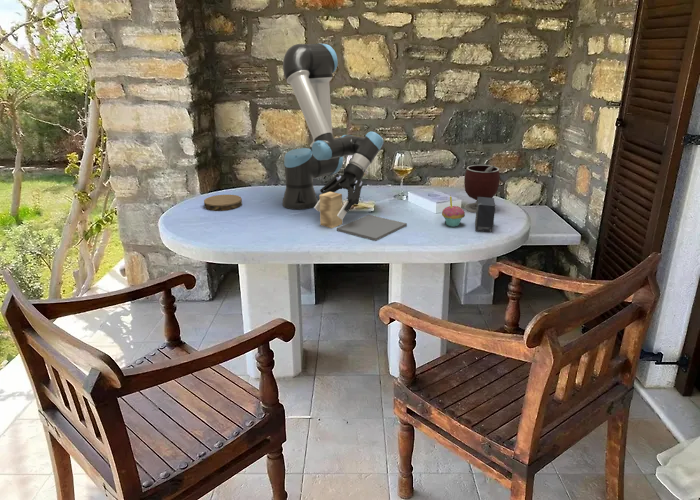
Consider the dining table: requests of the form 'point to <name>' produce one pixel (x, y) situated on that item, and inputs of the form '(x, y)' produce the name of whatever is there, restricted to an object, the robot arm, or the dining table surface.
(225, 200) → the wood slice
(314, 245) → the dining table surface
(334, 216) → the oak block
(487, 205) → the small box
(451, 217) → the cupcake
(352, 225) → the mat
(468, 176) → the mate gourd
